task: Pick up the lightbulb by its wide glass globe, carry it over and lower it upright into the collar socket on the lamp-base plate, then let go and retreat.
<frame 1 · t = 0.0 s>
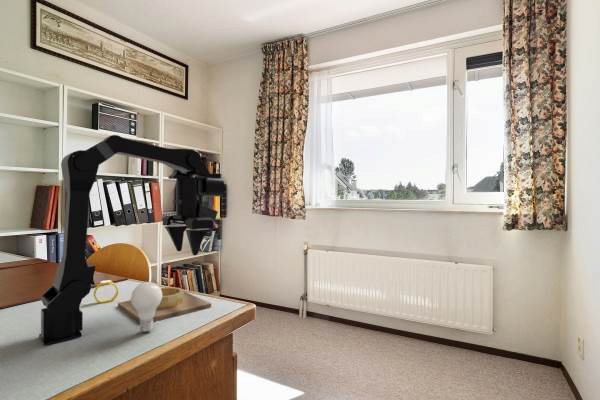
hand: (186, 253, 90), 15 cm above the table, fingers open, 9 cm apart
socket base: (164, 306, 90), on the table
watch: (106, 302, 94), on the table
socket collar: (164, 297, 90), on the socket base, point 2 cm above the table
lightbulb: (146, 332, 73), on the table
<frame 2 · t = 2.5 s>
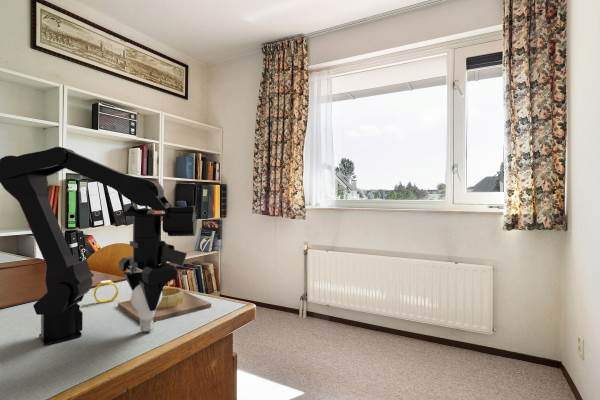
hand: (146, 306, 73), 6 cm above the table, fingers closed on lightbulb, 6 cm apart
lightbulb: (146, 332, 73), on the table, touching gripper
everything else where it was.
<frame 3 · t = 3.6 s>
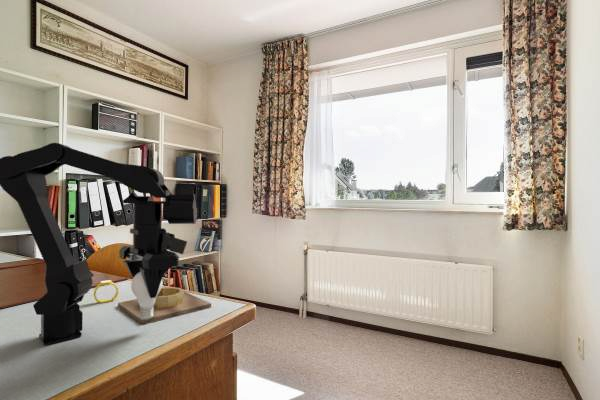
hand: (147, 294, 73), 8 cm above the table, fingers closed on lightbulb, 6 cm apart
lightbulb: (146, 320, 73), point 3 cm above the table, touching gripper
everything else where it was.
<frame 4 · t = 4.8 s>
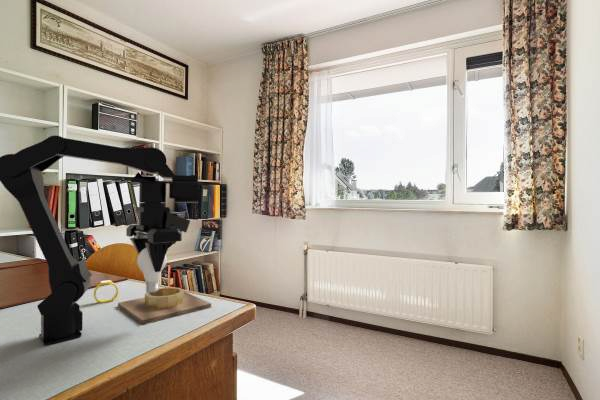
hand: (152, 269, 77), 13 cm above the table, fingers closed on lightbulb, 6 cm apart
lightbulb: (152, 293, 77), point 7 cm above the table, touching gripper
everything else where it was.
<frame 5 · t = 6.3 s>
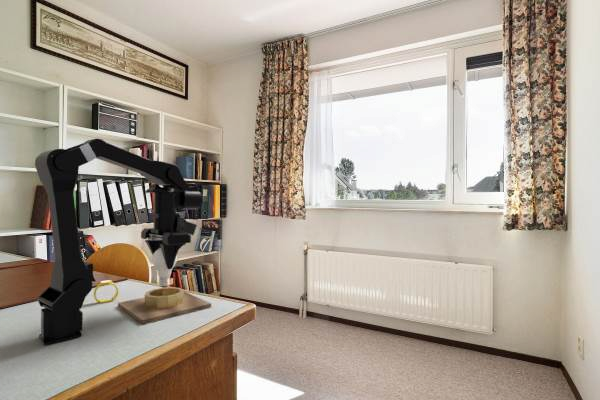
hand: (164, 267, 90), 11 cm above the table, fingers closed on lightbulb, 6 cm apart
lightbulb: (164, 287, 90), point 5 cm above the table, touching gripper
everything else where it was.
when the fingers open (8 cm above the table, at t = 7.4 s): lightbulb drops 1 cm, resting on socket base.
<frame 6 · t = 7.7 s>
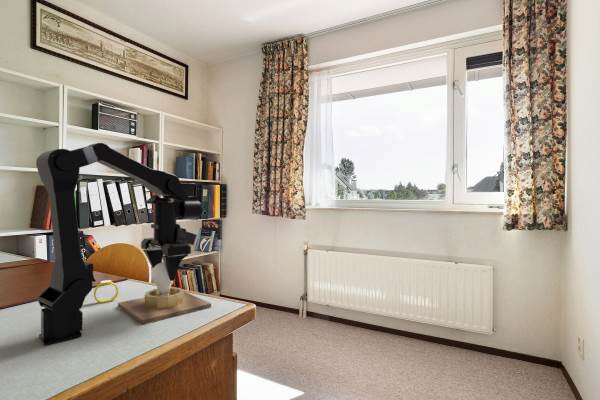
hand: (164, 277, 90), 8 cm above the table, fingers open, 9 cm apart
lightbulb: (163, 303, 90), point 1 cm above the table, touching socket base
everything else where it was.
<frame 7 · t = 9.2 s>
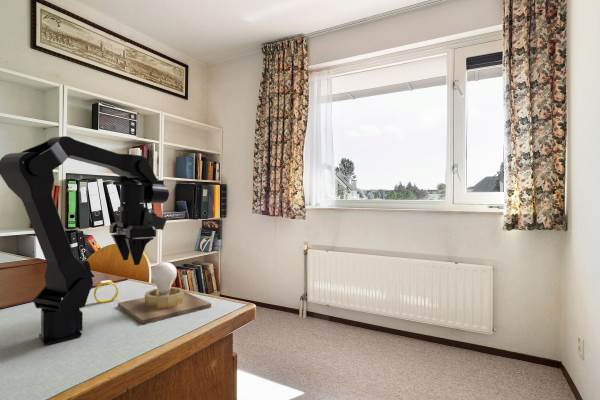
hand: (131, 262, 87), 13 cm above the table, fingers open, 9 cm apart
nothing on the table moved.
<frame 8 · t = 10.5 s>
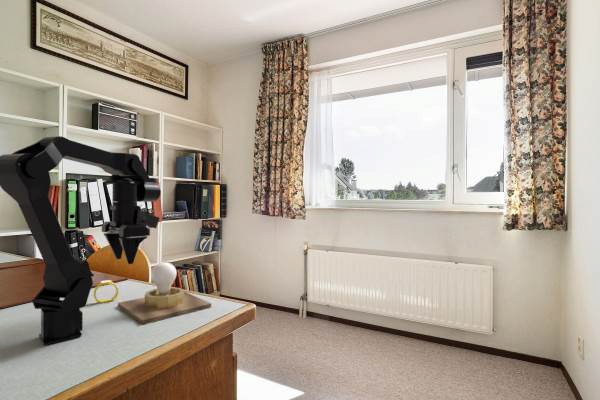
hand: (124, 261, 86), 13 cm above the table, fingers open, 9 cm apart
nothing on the table moved.
at the end: lightbulb 0.5 cm off-centre on the socket collar, point 0.8 cm above the socket collar's base; lightbulb tilted 0°; the gripper is holding nothing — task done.
